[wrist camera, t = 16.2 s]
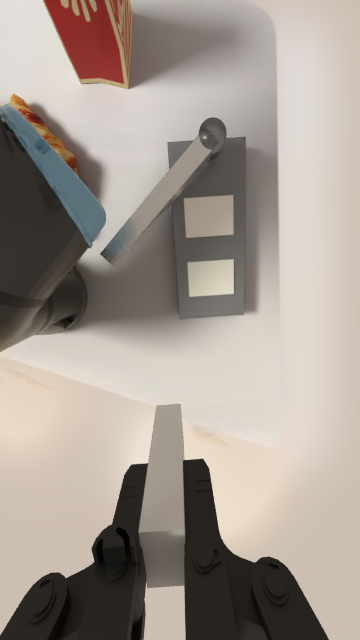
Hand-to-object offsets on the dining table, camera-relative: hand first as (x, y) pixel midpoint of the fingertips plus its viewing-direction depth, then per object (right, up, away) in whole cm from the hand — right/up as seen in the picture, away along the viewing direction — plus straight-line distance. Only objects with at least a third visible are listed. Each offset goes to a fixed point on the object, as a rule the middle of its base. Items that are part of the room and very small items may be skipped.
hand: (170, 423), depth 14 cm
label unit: (+6, +21, +26) cm, 34 cm away
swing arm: (-2, +25, +19) cm, 31 cm away
